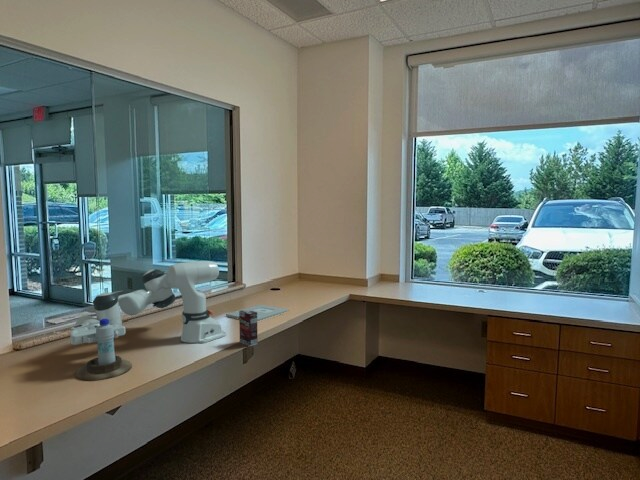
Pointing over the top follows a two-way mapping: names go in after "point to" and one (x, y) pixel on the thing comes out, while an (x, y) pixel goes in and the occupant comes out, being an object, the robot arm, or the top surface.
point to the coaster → (103, 376)
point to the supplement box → (248, 327)
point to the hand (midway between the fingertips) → (104, 338)
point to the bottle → (105, 342)
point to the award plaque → (260, 312)
